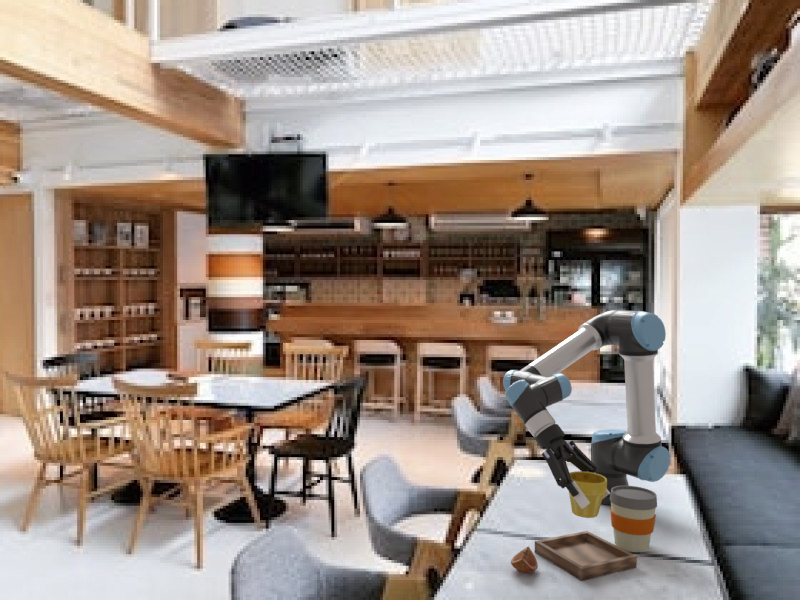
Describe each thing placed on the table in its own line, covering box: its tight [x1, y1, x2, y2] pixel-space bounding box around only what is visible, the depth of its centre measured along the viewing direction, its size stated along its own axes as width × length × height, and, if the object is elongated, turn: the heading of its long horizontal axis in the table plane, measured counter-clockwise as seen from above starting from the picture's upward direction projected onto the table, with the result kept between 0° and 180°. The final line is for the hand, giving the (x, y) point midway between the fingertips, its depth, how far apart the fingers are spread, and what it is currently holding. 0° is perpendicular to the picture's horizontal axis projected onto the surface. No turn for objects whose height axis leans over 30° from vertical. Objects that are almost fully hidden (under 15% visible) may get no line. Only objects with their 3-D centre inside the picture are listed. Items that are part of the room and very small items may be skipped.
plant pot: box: [568, 470, 607, 519], centre depth 173 cm, size 10×10×10 cm
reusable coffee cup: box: [609, 485, 658, 553], centre depth 184 cm, size 13×13×15 cm
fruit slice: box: [510, 546, 539, 574], centre depth 166 cm, size 8×7×5 cm
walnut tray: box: [534, 530, 638, 582], centre depth 173 cm, size 18×18×3 cm
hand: (596, 501), depth 171 cm, fingers closed on plant pot, 10 cm apart
